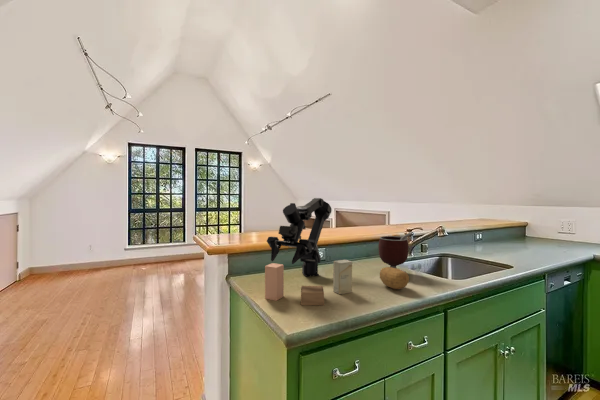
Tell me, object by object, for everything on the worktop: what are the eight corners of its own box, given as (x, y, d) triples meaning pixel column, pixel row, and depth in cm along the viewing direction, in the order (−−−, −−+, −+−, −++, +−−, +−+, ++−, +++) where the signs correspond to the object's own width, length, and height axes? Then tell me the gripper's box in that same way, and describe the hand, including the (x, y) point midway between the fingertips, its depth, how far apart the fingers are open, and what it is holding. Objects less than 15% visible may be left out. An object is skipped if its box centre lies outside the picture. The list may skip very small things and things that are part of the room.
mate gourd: (378, 276, 133) (379, 233, 133) (377, 268, 147) (378, 229, 146) (414, 278, 129) (414, 234, 129) (409, 270, 143) (410, 230, 142)
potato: (391, 281, 125) (392, 263, 125) (415, 291, 112) (415, 271, 112) (373, 284, 121) (373, 265, 121) (395, 295, 108) (395, 274, 108)
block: (272, 294, 109) (272, 263, 109) (283, 296, 107) (283, 264, 107) (265, 298, 105) (265, 266, 104) (276, 300, 102) (276, 267, 102)
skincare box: (339, 294, 108) (339, 263, 108) (332, 291, 112) (332, 260, 112) (352, 292, 111) (352, 261, 111) (345, 288, 115) (345, 259, 115)
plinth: (301, 296, 106) (301, 285, 106) (322, 296, 106) (322, 285, 106) (300, 305, 98) (300, 292, 98) (324, 305, 98) (324, 292, 98)
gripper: (269, 217, 119) (253, 247, 109) (309, 219, 111) (296, 252, 101) (278, 233, 126) (264, 263, 116) (317, 236, 118) (306, 269, 108)
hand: (281, 262), depth 110 cm, fingers open, 9 cm apart
